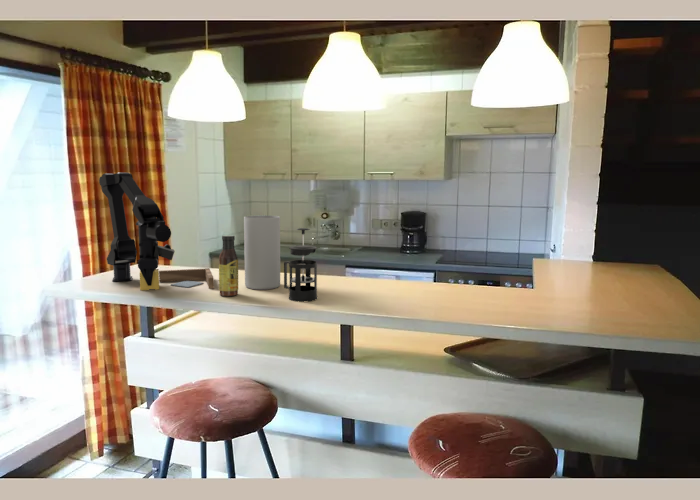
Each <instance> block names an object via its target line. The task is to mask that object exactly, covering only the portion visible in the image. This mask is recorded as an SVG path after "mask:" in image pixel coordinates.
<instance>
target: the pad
mask: <svg viewBox="0 0 700 500" xmlns="http://www.w3.org/2000/svg"><path fill="white" fill-rule="evenodd" d="M200 285H201V286H202V285H204V282H200V281H195V280H190V281H178V282H175V283H171V284H170V286H172V287H178V288H187V289H190V288H194V287H196V286H200Z"/></svg>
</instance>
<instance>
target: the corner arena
mask: <svg viewBox="0 0 700 500" xmlns="http://www.w3.org/2000/svg"><path fill="white" fill-rule="evenodd" d="M214 279H215V277H214V275H213V273H212V271H211V269H210V267H209V268H208V267H207V268H190V269H189V268H188V269H167V270H163V269H162V270H159V283H163V282H164V283H168V282H169V283H170V282H183V281H205V282H206V285H207V287H208V289H209V290H212V289H215V288H214V287H215V284H214V283H215V282H214V281H215V280H214Z"/></svg>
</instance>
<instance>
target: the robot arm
mask: <svg viewBox="0 0 700 500" xmlns="http://www.w3.org/2000/svg"><path fill="white" fill-rule="evenodd" d="M98 181H99V182H98V183H99V185H100V187H101V191H102V193H103V195H105V197H106V198H107V200H108V206H109V207H108V208H109V213H110V219H111V227H112V232H113V233H112V234H113V239H112V242H111V243H110V250H109V253H108V255H107V257H106V263H107V265H109V266H113V277H112V280H111V281H112V282H113V283H114V282H130V281H132V280H133V275H132V276H131V264H133V263H134V264H135V263H136V262H137V268H138V269H139V272H140V271H141V273H142V275H143V277H144V279H145V281H146V283H147V285H148V286H151V284H152V277H153V271H154V270H155V269H159V268H158V267H159V260H160V259H159V257H161V258H165V259H167V260H169V261H172V260H173V257H174V255H175V250H174V249H173V248H172V246H171V245H170V244H167V243H166V244H165V245H164V246H162V245H159V242H161V243H165V242H167V241H169V240H170V238H171V236H172V231H171V228H170V227H169V226H168V225H166V220H165V217H164V216H163V214H162V212H161V210H160V209H161V208H160V207H159V206H158V204H157V202H155V201H154V199H153V198H149V197H147V196H146V195H145V194H144V192H143V191H142V189H141V188H140V187H139V186H138V184H137V182H136V181H135V179H134V178H133V174H132V173H129V172H116V173H102V175H101V176H99V179H98ZM124 194H125V195H126V196H127V199H129V201H130V203H131V204H132V209H131V210H132V213H133V215H134V216H135V219H137V221H136V222H135V225H136V226H137V227H138V249H139V256H138V250H137V246H136V241H135V239H134V238H131V237H130V236H129V232H128V224H127V219H126V212H125V204H124V199H123V196H124ZM137 257H138V258H139V259H138V260H137Z"/></svg>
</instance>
